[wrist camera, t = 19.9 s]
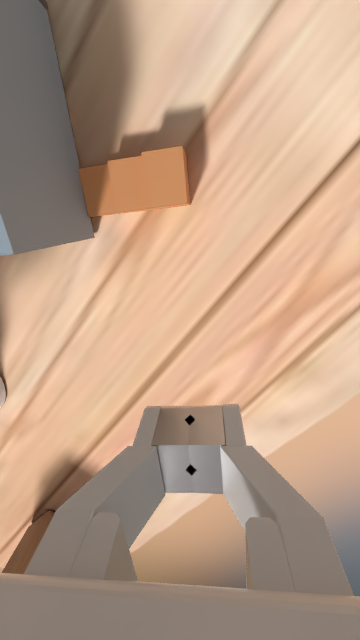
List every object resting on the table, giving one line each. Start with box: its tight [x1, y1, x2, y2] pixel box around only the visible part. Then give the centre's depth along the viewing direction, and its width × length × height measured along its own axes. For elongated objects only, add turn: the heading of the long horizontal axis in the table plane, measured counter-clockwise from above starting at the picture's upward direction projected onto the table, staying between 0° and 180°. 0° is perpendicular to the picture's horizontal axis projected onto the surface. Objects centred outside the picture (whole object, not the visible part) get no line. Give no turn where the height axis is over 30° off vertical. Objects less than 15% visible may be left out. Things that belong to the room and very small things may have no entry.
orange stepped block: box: [78, 146, 190, 217], centre depth 28 cm, size 12×5×4 cm, turn 96°
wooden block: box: [2, 511, 55, 574], centre depth 49 cm, size 10×10×20 cm
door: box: [0, 0, 95, 256], centre depth 21 cm, size 22×1×14 cm, turn 6°
